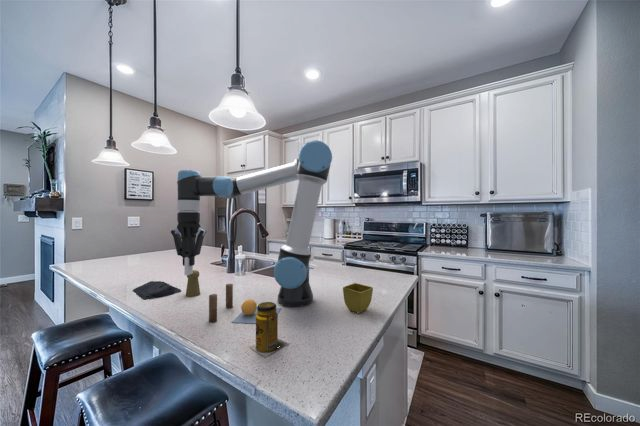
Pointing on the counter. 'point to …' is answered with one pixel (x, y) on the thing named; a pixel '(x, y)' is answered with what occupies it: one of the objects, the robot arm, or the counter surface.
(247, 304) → the ball
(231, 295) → the post
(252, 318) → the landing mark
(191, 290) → the cork
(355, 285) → the flower pot
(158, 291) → the dark slate chunk
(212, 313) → the post
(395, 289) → the counter surface
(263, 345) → the condiment
